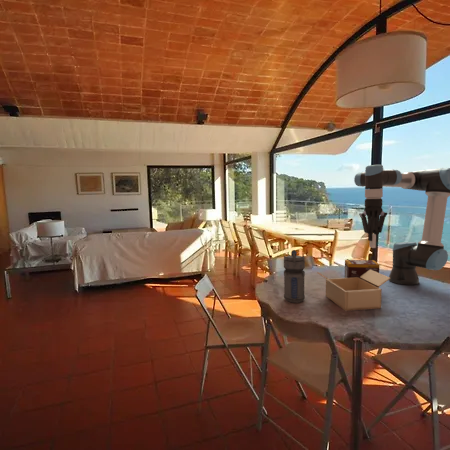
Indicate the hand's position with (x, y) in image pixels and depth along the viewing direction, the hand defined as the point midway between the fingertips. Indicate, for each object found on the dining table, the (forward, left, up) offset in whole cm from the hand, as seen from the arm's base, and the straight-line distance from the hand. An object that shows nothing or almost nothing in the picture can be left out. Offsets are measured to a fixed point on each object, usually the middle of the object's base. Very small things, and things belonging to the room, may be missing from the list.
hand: (372, 247), depth 144 cm
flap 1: (+19, 0, -17) cm, 25 cm away
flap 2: (+2, 0, -17) cm, 17 cm away
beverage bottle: (+36, -8, -27) cm, 46 cm away
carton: (+10, 0, -26) cm, 28 cm away
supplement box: (-4, -16, -27) cm, 31 cm away
